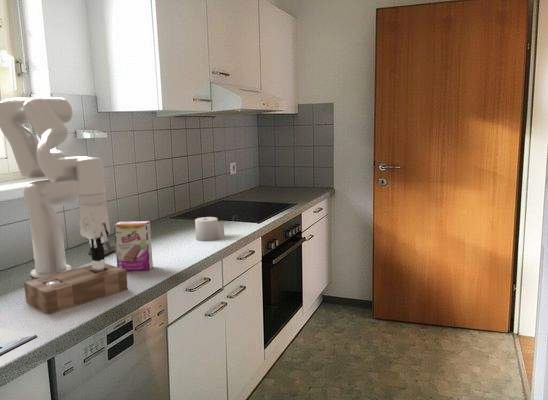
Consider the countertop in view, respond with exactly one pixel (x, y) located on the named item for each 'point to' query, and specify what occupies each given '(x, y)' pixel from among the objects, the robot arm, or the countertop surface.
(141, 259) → the candy bar box
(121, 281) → the walnut block
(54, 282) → the front peg
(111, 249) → the portable electronic device stand
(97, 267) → the back peg
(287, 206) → the countertop surface
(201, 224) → the toilet tissue
